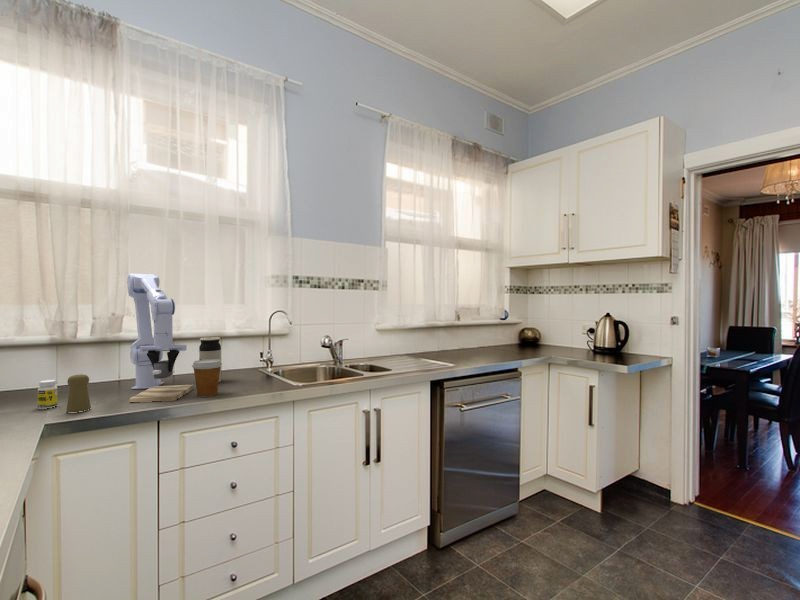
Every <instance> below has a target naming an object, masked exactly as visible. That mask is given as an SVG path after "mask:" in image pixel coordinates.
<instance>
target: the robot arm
mask: <svg viewBox="0 0 800 600" xmlns="http://www.w3.org/2000/svg"><path fill="white" fill-rule="evenodd" d="M126 280H127V281H126V284H127V286H126V287H127V293H128V296H129V297H131V298H133V301H134V307H135V317H136V318H135V319H136V327H137V340H135V341H134V342H132V344H131V345H130V352H129V353H130V354H129V356H130V357H129V359H130V362H131V363H132V364H133V365H135V385H134V386H132V387H130V389H131V390H135V389H136V390H138V389H139V390H141V389H149V388H151V387H153V386H162V385H163V384H164V381H162V379H154V374H152V371H154V363H157V362H159V361H162V359H163V358H164V357H163V356H164V352H166V356H167V360H168V371H169V372H171V371H173V372H174V368H175V367H174V366H175V363H176V360H177V357H178V356H179V355H180V351H181V352H185V351H187V344H173V315H174V314H175V311H176V304H175V300H174V299H173V298H168V296H167V294H166V293H165V292H164V290H162V289H161V288H159V287H160V277H159V275H158V274H157V273H154V274H149V273H148V274H147V273H146V274H145V273H132V272H131V273H129V274H128V275H127V279H126ZM152 321H153V328H152ZM152 329H153V330H152Z"/></svg>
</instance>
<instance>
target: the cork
mask: <svg viewBox="0 0 800 600" xmlns="http://www.w3.org/2000/svg"><path fill="white" fill-rule="evenodd" d="M89 382H90V377H89V375H87V374H81V373H80V374H74V375H70V376H69V377H68V379H67V386H69V390H68V391H69V392H68V398H67V404H66V412H79V411H84V410H88V409H90V408H91V409H92V406H91V401H90V395H89V389H88V384H89ZM66 412H65V413H66Z"/></svg>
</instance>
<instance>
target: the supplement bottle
mask: <svg viewBox="0 0 800 600" xmlns="http://www.w3.org/2000/svg"><path fill="white" fill-rule="evenodd" d="M58 390H59V389H58V386H57V381H56V379H45V380H41V381H39V382H38V388H37V409H38V410H48V409H47V408H50V409H53V408H52V407H54V408H56V407H55V406H57V407H58V406H59V405H58V402H59V401H58V393H59V392H58Z"/></svg>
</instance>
